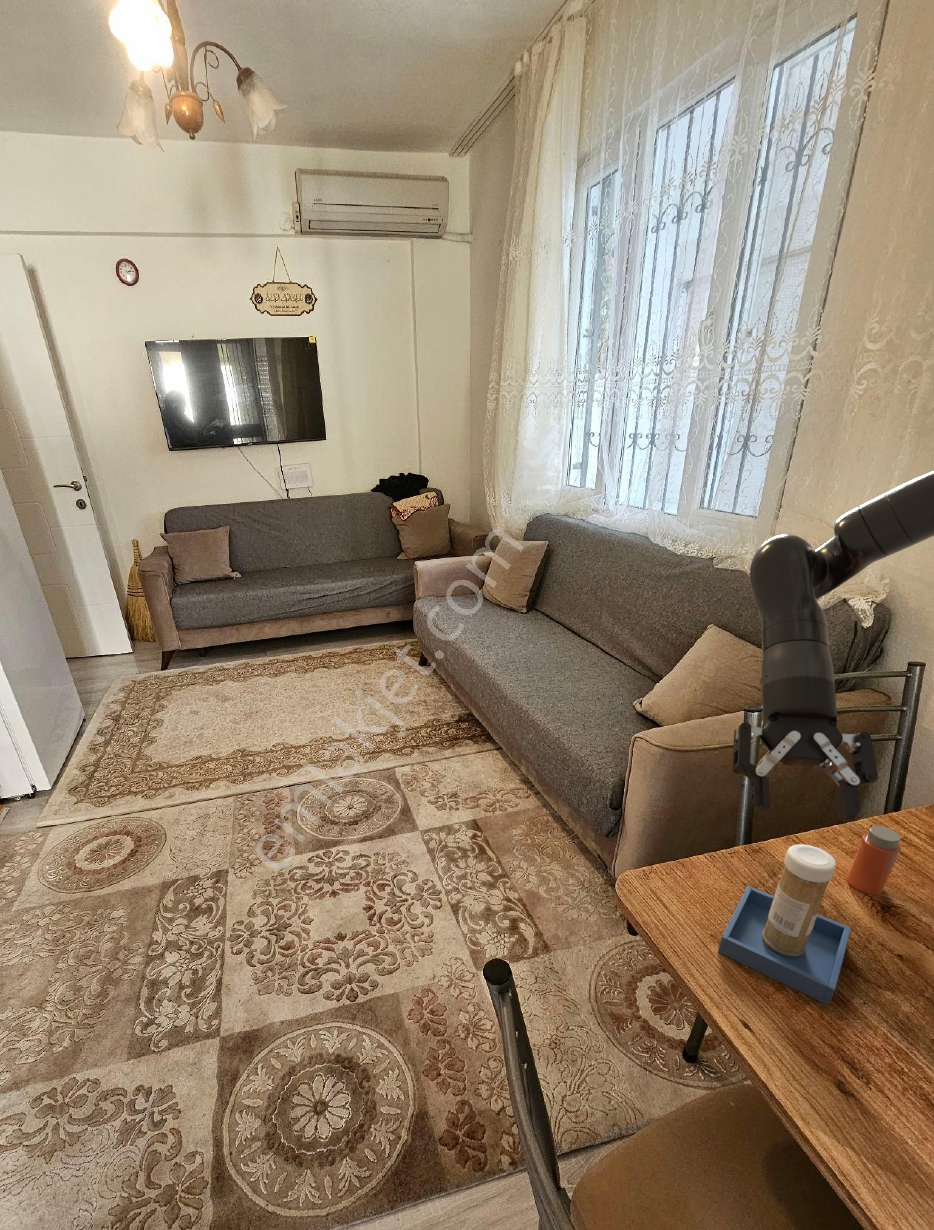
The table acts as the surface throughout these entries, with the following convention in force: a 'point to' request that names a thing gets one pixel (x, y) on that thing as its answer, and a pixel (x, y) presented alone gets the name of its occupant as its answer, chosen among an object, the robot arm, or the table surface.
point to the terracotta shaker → (874, 860)
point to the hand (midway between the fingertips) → (804, 815)
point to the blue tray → (801, 973)
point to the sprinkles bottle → (798, 899)
